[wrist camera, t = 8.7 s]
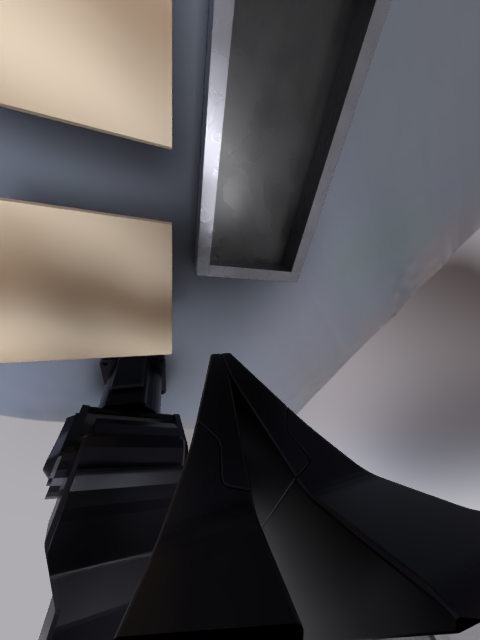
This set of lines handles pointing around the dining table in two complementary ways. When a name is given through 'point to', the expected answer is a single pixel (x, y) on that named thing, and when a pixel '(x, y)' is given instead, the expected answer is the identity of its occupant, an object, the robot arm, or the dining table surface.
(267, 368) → the dining table surface
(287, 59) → the dark grey rectangular tray
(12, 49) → the tunnel
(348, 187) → the dining table surface
